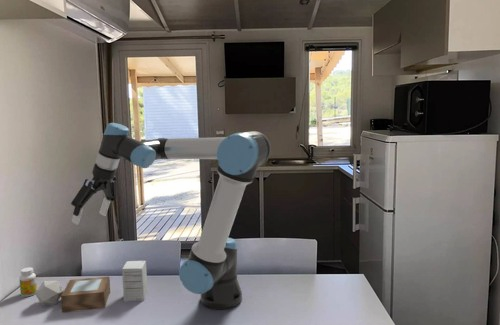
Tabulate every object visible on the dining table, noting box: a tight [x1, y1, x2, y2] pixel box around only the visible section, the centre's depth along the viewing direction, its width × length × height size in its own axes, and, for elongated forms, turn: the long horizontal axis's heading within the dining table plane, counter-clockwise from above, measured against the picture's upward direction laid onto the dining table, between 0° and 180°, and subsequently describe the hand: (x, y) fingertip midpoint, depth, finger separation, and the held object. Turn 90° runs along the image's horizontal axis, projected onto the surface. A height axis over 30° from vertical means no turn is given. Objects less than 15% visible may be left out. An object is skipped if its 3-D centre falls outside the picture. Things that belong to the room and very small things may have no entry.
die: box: [34, 280, 65, 305], centre depth 140 cm, size 8×9×10 cm
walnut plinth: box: [60, 276, 111, 313], centre depth 141 cm, size 14×13×6 cm
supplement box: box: [121, 260, 148, 302], centre depth 144 cm, size 7×7×13 cm
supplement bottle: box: [19, 266, 38, 298], centre depth 147 cm, size 5×5×10 cm
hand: (89, 218), depth 141 cm, fingers open, 13 cm apart
